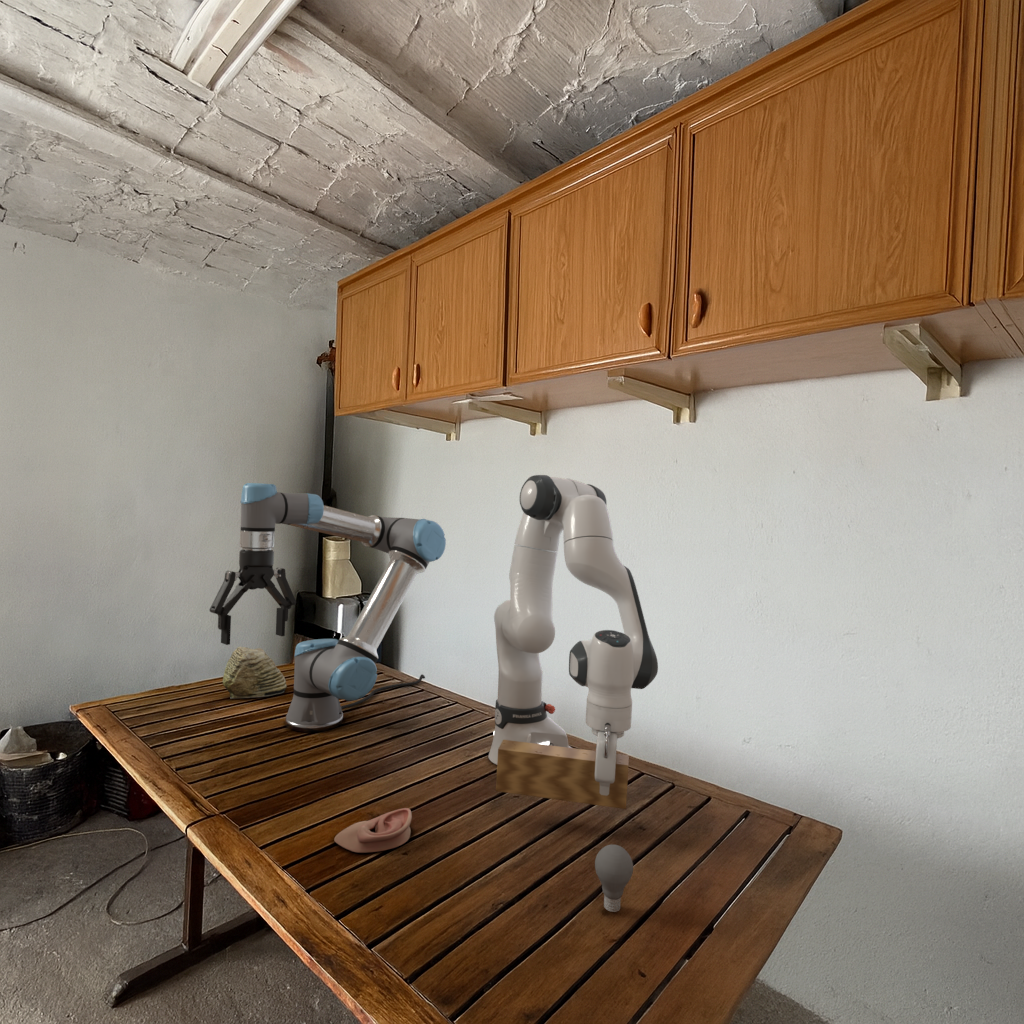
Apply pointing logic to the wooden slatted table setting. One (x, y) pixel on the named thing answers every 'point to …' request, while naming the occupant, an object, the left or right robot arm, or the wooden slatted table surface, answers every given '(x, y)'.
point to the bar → (558, 774)
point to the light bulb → (613, 874)
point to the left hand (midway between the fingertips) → (253, 639)
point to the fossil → (252, 674)
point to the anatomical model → (377, 832)
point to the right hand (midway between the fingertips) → (604, 786)
